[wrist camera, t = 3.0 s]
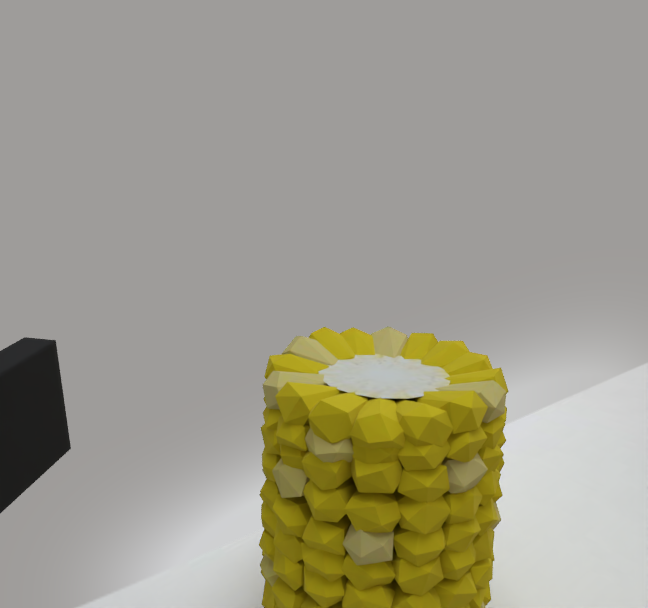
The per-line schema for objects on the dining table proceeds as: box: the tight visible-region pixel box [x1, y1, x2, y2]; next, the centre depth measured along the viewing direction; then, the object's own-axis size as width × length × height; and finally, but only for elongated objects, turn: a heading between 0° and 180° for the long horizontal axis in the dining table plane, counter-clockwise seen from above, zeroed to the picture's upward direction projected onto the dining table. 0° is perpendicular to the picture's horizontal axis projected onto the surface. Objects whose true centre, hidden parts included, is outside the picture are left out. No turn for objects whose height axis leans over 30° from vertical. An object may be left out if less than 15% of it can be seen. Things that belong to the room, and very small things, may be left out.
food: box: [259, 327, 508, 608], centre depth 25 cm, size 15×12×10 cm
